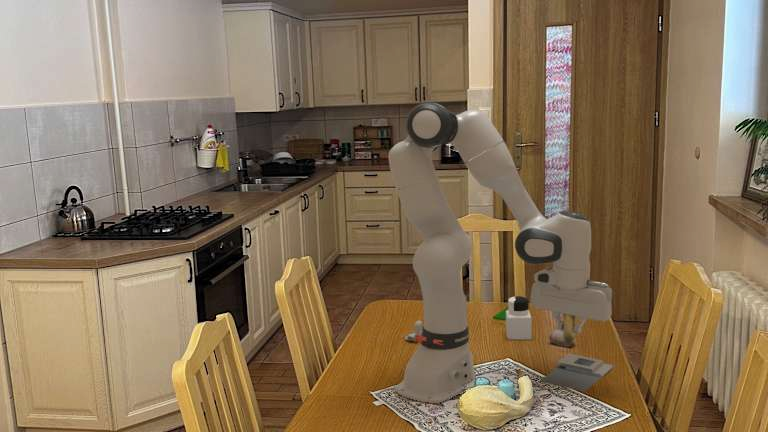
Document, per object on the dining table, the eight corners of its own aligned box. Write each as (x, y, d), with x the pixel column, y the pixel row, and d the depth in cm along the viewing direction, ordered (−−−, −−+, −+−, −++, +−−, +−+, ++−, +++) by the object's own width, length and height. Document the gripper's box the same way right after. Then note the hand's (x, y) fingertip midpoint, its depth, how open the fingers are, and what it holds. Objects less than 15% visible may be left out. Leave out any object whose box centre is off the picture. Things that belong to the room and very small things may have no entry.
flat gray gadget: (601, 377, 180) (601, 371, 180) (557, 367, 187) (557, 361, 187) (611, 368, 186) (612, 362, 185) (568, 359, 193) (568, 353, 193)
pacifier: (400, 340, 218) (413, 344, 213) (399, 320, 217) (412, 324, 212) (418, 334, 222) (431, 338, 218) (417, 315, 221) (430, 318, 217)
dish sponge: (529, 315, 238) (529, 308, 237) (512, 327, 226) (512, 320, 226) (509, 312, 242) (509, 305, 241) (492, 324, 230) (492, 316, 230)
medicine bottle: (529, 332, 220) (529, 294, 218) (531, 339, 213) (531, 301, 211) (505, 332, 221) (505, 294, 219) (507, 339, 214) (507, 301, 212)
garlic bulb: (573, 350, 204) (573, 323, 202) (547, 348, 206) (547, 321, 205) (575, 341, 211) (576, 315, 209) (550, 339, 213) (550, 313, 212)
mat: (584, 397, 172) (584, 391, 172) (539, 386, 180) (539, 380, 179) (615, 370, 188) (615, 365, 187) (572, 361, 195) (572, 356, 195)
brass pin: (571, 344, 176) (573, 313, 175) (560, 341, 178) (561, 310, 177) (576, 340, 179) (578, 310, 177) (565, 338, 180) (566, 307, 179)
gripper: (617, 281, 171) (614, 335, 174) (539, 268, 184) (537, 319, 186) (607, 287, 167) (604, 343, 169) (528, 273, 179) (526, 326, 182)
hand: (569, 330), depth 178 cm, fingers closed on brass pin, 3 cm apart
